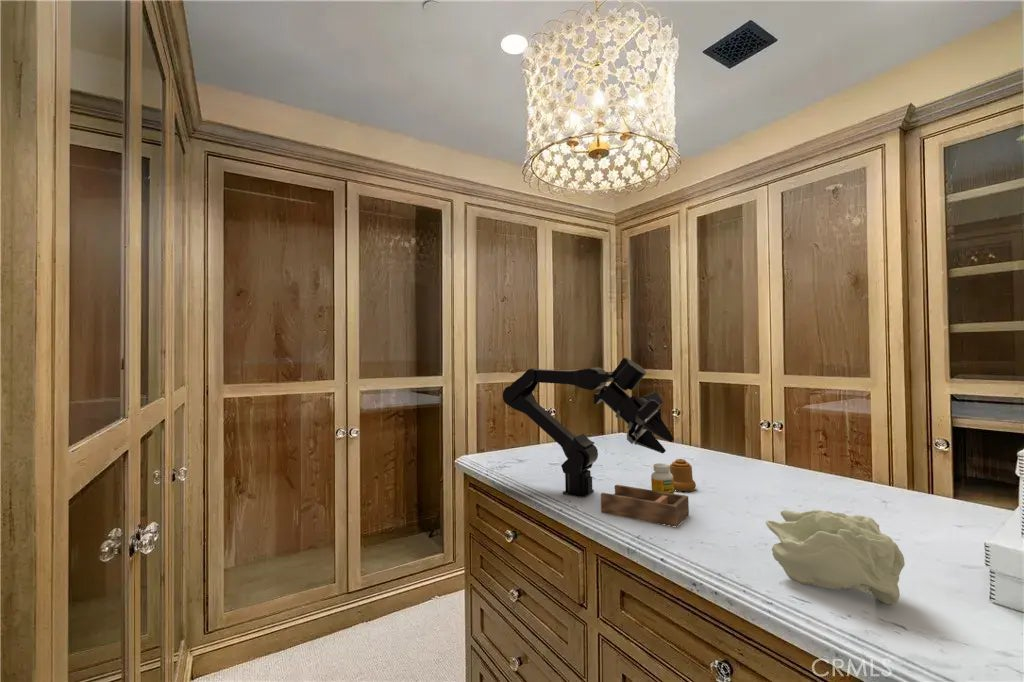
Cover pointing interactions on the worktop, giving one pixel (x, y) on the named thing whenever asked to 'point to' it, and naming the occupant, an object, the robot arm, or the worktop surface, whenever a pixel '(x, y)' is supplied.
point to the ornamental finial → (682, 475)
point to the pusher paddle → (662, 499)
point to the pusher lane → (645, 505)
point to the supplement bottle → (662, 478)
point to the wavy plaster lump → (838, 552)
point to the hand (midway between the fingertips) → (668, 446)
